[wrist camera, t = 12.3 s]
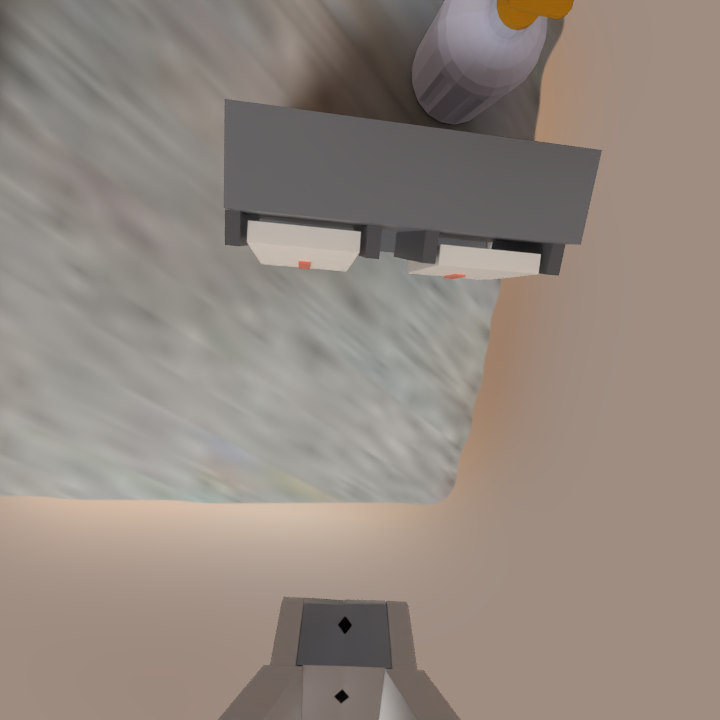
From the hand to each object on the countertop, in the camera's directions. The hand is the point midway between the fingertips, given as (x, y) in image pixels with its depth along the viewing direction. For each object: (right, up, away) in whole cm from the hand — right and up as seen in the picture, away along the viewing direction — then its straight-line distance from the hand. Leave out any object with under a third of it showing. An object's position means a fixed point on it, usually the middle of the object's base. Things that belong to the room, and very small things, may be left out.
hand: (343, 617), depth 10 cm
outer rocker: (+9, +15, +32) cm, 36 cm away
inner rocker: (-5, +16, +30) cm, 34 cm away
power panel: (+2, +23, +36) cm, 43 cm away
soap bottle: (+10, +35, +34) cm, 50 cm away
